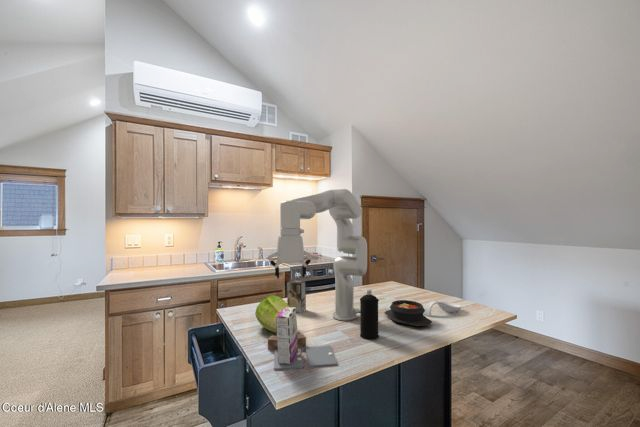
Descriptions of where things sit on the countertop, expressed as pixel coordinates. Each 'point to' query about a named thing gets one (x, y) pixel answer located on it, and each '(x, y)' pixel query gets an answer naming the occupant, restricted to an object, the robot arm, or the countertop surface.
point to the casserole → (408, 313)
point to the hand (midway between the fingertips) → (290, 277)
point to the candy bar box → (287, 335)
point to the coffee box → (296, 295)
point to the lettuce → (270, 311)
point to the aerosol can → (369, 316)
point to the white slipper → (442, 307)
